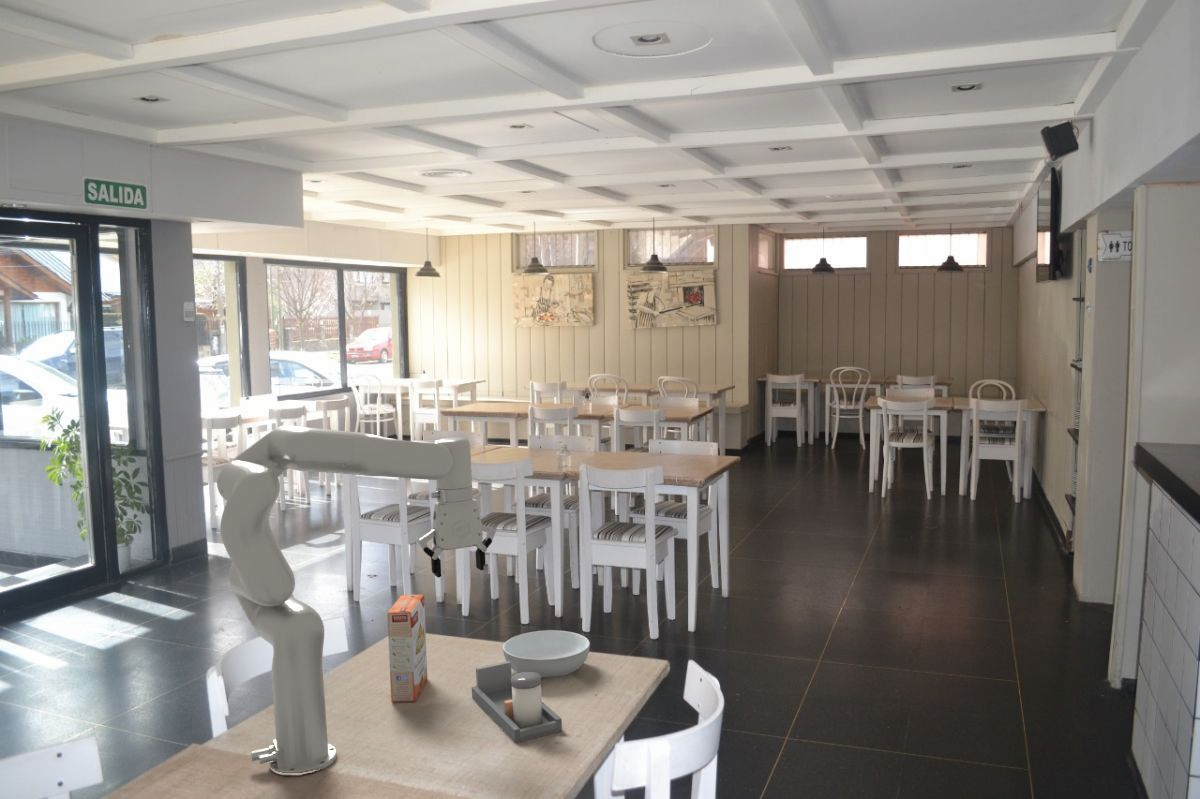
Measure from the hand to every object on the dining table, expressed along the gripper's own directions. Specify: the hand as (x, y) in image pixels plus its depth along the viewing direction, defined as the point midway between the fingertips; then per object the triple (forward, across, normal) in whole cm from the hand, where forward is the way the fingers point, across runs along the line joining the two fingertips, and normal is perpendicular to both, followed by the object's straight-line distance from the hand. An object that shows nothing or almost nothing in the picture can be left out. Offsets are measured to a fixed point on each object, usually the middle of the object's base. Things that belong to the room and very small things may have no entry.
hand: (459, 572), depth 204 cm
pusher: (+29, +8, -11) cm, 32 cm away
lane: (+30, +8, -9) cm, 33 cm away
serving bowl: (+31, +24, +10) cm, 40 cm away
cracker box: (+31, -8, +16) cm, 35 cm away
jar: (+30, +8, -17) cm, 35 cm away
